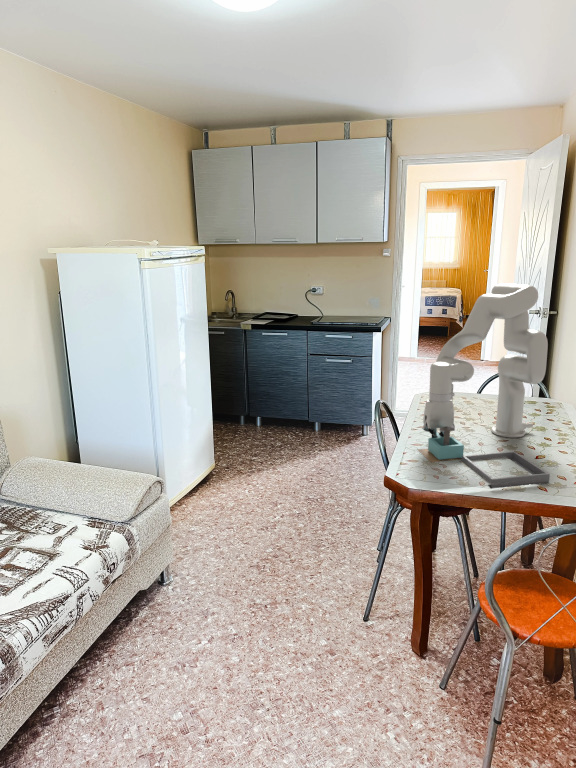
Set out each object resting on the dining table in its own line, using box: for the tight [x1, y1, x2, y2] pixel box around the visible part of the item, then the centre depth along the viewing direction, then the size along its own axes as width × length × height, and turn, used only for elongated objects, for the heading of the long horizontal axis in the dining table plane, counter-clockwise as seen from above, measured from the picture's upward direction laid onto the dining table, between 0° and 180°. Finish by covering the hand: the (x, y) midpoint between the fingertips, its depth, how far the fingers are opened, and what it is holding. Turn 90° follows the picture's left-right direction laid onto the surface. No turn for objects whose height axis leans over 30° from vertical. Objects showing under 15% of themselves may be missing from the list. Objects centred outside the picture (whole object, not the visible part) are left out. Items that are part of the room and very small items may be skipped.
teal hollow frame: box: [427, 432, 465, 460], centre depth 188 cm, size 9×14×4 cm, turn 9°
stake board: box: [417, 426, 462, 463], centre depth 186 cm, size 12×12×12 cm
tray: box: [461, 450, 551, 489], centre depth 174 cm, size 20×20×3 cm
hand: (437, 444), depth 192 cm, fingers closed on teal hollow frame
